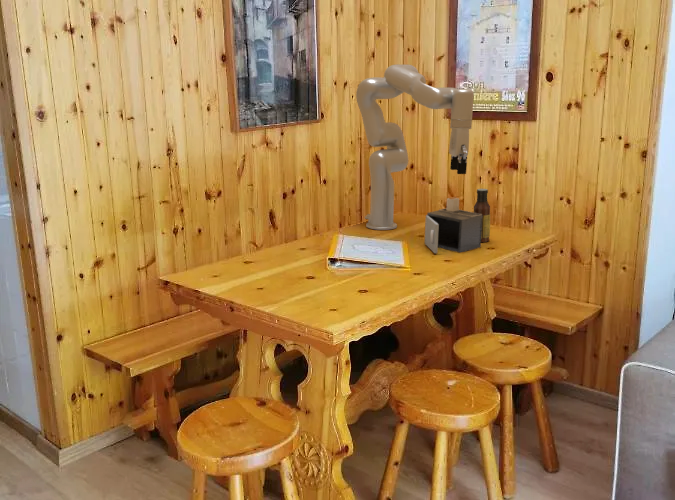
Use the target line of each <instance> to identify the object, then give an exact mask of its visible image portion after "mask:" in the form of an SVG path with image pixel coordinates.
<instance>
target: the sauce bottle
mask: <svg viewBox="0 0 675 500" xmlns="http://www.w3.org/2000/svg"><path fill="white" fill-rule="evenodd" d="M488 193H489V190H488V189H486V188H478V189H477V190H476V194H477V195H476V202H475V204H474V205H473V212H474V213H479V214H482V215H483V218H482V234H481V243H487V242H489V241H490V236H491V235H490V233H491V205H490V204H489V202H488Z"/></svg>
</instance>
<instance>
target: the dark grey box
mask: <svg viewBox="0 0 675 500" xmlns="http://www.w3.org/2000/svg"><path fill="white" fill-rule="evenodd" d="M446 208H447V207H445V208H441V209H440V208H439V209H438V210H435V211H428V212H427V214H426V215H428V216H429V217H430V218H432V219H433V220H434V221H435V222H436V223H438V224H439V230H438V249H439V248H440V249H444V250H446V251H447V250H448V251H452V252H457V253H460V254H461V253H464V252H467V251H468V252H469V251H471V250H475V249H480V248H481V247H482V242H481V234H482V218H483V215H482V214H479V213H474V211H467V210H462V209H459V210H458V211H453V212H452V211H447V210H446Z"/></svg>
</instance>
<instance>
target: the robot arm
mask: <svg viewBox="0 0 675 500" xmlns="http://www.w3.org/2000/svg"><path fill="white" fill-rule="evenodd" d="M426 81H427V80H426V78H425V76H424V75H423V74H421V73H419V71H418V68H417V67H415V66H414V65H413V64H399V63H398V64H392V65H389V66H388V67H387V68H386V69H385V71H384V74H383V77H380V76H378V77H367V78H365V79H363V80H361V82H359V84H358V86H357V88H356V91H355V92H356V94H355V99H356V103H357V106H358V109H359V112H360V116H361V117H362V124H363V127H364V132H365V136H366V139H367V143H368V145H369V146H371V147H374V148H382V147H383V148H384V147H386V149H379V150H375V151H373V152H372V153H371V154H370V156H369V158H368V168H369V175H370V211H369V212H370V213H367V214H366V215H365V216H364V219H365V220H367V222H366V224H365V225H366V228H367V229H371V230H377V231H387V230H394V229H397V227H398V224H397V223H396V222H394V208H395V207H394V206H395V181H394V179H393V176H392V173H397V172H402V171H404V170H406V169H407V167H408V165H409V156H408V155H409V154H408V150H407V146H406V141H405V137H404V133H403V130H402V128H401V127H400V125H398V124H397V123H395V122H386V120H385V118H384V113H383V110H382V107H381V106H380V105H379V104H378V102H377V100H390V99H391V100H392V99H394V98H397V97H399V96H400V95H401V94H404V93H405V94H406V95H409V96H411V98H412V100H414V102H415V103H417V104H420V105H421V106H424V107H426V108H429V109H431V110H446V109H451V110H450V126H449V127H450V137H449V147H448V154H450V167H449V168H450V170H452V171H456V173H457V175H467V169H468V168H467V166H468V155H469V148H470V130H471V129H472V125H473V109H474V91H473V90H472V89H467V88H456V87H434V86H431V85H428V84H427V83H426Z"/></svg>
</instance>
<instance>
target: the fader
mask: <svg viewBox="0 0 675 500" xmlns="http://www.w3.org/2000/svg"><path fill="white" fill-rule="evenodd" d="M445 208H446V210H447V211H452V212H453V211H458V210H460V198H459V197H457V196H453V197H448V198H447V197H446V207H445Z"/></svg>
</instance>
